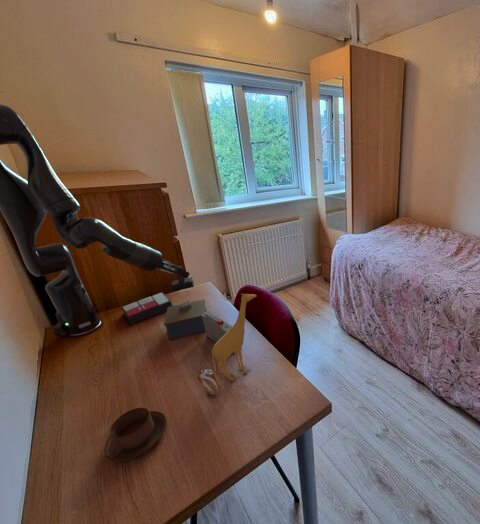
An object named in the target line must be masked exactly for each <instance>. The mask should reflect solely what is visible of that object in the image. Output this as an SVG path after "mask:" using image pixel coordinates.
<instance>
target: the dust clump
mask: <svg viewBox="0 0 480 524" xmlns="http://www.w3.org/2000/svg"><path fill="white" fill-rule="evenodd" d="M179 305H181V308H182V310H184V309H187V308H190V307H191V304H190V301H189V300H188V301H185V302H181V303H180V304H179Z"/></svg>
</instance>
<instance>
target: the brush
mask: <svg viewBox="0 0 480 524" xmlns="http://www.w3.org/2000/svg"><path fill="white" fill-rule="evenodd" d="M176 266H177V267H179V268H181V269H183V267H182V266H181V265H176ZM176 278H177V279H176V280H172V281H171V285H170V286H171V289H172V291H173V292H176V291H180V290H186V289H191V288H194V286H195V281H194V277H193V276H192V277H188V278H185V277H183V276H180V275H179V276H178V275H176Z"/></svg>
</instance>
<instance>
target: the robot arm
mask: <svg viewBox="0 0 480 524" xmlns="http://www.w3.org/2000/svg"><path fill="white" fill-rule="evenodd" d="M12 144H13V145H14V144H15V145H17V146H18V148H19V149H20V150H21V152H22V153H23V155H24V157H25V161H26V178H25V177H24V176H23V175H21V174H19V173H18V172H17V171H15V170H13V169H12V168H10V167H9V166H8V165H7V164H6V163H5V162H3V160H2V159H1V158H0V212H1V214H2V216H3V218H4V220H5V221H6V223H7V225H8V227H9V229H10V231H11V233H12V235H13V237H14V240H15V243H16V245H17V247H18V250H19V253H20V255H21V258H22V261H23V263H24V265H25V268H26V270H28V271H29V273H30V274H31V275H33V276H34V277H44V276H48V275H52V274H55V273H59V272H60V274H59V275H58V276H57V277H55V278H53V279H52V280H51V281H49V282H47V284H45V287H44V288H45V291H46V293H47V295H48V296H49V299H50V301H51V303H52V305H53V306H54V308H55V310H56V313H55V316H56V319H57V321H58V322H57V323H56V324H55V325H54V327H53V334H54V335H55V336H56V337H59V338H62V336H63V334H65V336H66V337H79V336H80V337H81V336H84V335H88V334H89V333H92V332H94V331H96V330H97V329H98V328H99V327H101V325H102V321H101V320H100V318H99V316H98V313H97V311H96V309H95V307H94V305H93V303H92V301H91V298H90V296H89V293H88V292H87V290H86V287H85V285H84V283H83V280H82V279H81V277H80V274H79V271H78V270H77V267H76V264H75V262H74V259H73V256H72V253H71V251H70V250H69V248H68V247H67V246H66V245H68V246H70V247H71V248H74V249H78V250H83V249H86V248H89V247H91V246H93V245H94V244H96V243H100V244H102V246H101V250H102V252H103V253H104V255H107V256H109V257H112V258H114V259H118V260H120V261H123V262H124V263H126V264H128V265H130V266H133V267H136V268H139V269H141V270H144V271H146V272H154V271H155V270H159V271H161V272H166V273H169V274H171V275H173V274H175V275H176V276H177V275H178V276H179V275H180V276H183V277H184V278H185V279H186V278H189V276H190V274H191V273H190V272H189V271H186V270H184V269H183V268H182V269H181V268H179V267H177V266H178V265H176V264H174V263H171V262H170V261H169V260H167V259H164V258H163V254H162V253H161V251H159V250H156V249H154V248H152V247H151V246H148V245H145V244H144V243H140V242H137V241H134V240H132V239H130V238H127V237H125V236H123V235H121V234H120V233H119V232H118V231H116V230H115V229H114V228H112V227H111V226H110V225H109V224H107V223H105V221H103V220H100V219H98V218H95V217H91V216H90V217H89V216H86V217H85V216H84V217H82V218H78V214H79V212H80V210H81V205H80V203H79V201H78V200H77V199H76V198H75V197H74V195H73V194H72V193H71V191H70V190H69V189H68V188H67V186H65V184H64V183H63V181H62V180H61V179H60V178H59V176H58V174H57V173H56V171H55V170H54V168H53V167H52V164H51V163H50V162H49V160H48V158H47V156H46V155H45V153H44V152H43V150H42V148H41V146H40V144H39V143H38V142H37V139H36V138H35V136H34V135H33V133H32V132H31V130H30V129H29V127H28V125H27V124H26V123H25V121H24V120H23V118H22V117H21V116H20V115H19V113H18V112H16V110H14V109H13V108H11V107H10V106H8V105H6V104H0V146H3V145H12ZM47 214H49V217H50V220H51V222H52V224H53V225H54V228H55V230H56V232H57V234H58V236H59V237H60V239H61V240H62V241H63V242H64V243H65V244H66V245H65V244H64V243H61V242H55V243H52V244H46V245H43V246H38V247H36V240H37V236H38V234H39V231H40V229H41V228H42V226H43V224H44V222H45V220H46V218H47Z"/></svg>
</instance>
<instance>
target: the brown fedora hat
mask: <svg viewBox="0 0 480 524" xmlns="http://www.w3.org/2000/svg"><path fill="white" fill-rule="evenodd" d="M166 428H167V418H166V416H165V414H164V413H162V412H160V411H155V410H150V411H149V409H147V408H146V407H136V408H133V409H130V410H127V411H126V412H124V413H123V414H121V415H120V416H119V417H117V419H116V420H115V421H114V422H113V423H112V425H111V427H110V430H109V431H110V435H109V437H108V438H107V439H106V441H105V443H104V447H103V453H104V456H105V458H107V459H108V460H110V461H112V462H115V463H118V462H120V463H121V462H127V461H130V460H133V459H135V458H137V457H139V456H141V455H143V454H144V453H146V452H147V451H149V450H150V449H151V448H152V447H154V446H155V444H156V443H158V441H159V440H160V439H161V438H162V436H163V434H164V433H165V430H166Z"/></svg>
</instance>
